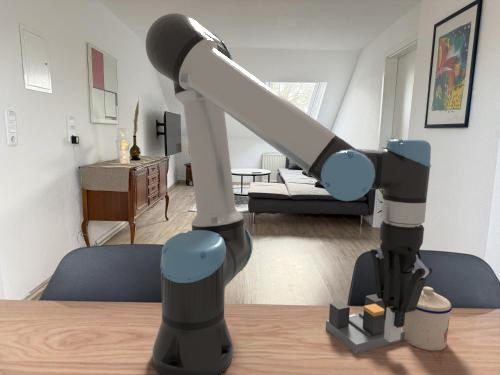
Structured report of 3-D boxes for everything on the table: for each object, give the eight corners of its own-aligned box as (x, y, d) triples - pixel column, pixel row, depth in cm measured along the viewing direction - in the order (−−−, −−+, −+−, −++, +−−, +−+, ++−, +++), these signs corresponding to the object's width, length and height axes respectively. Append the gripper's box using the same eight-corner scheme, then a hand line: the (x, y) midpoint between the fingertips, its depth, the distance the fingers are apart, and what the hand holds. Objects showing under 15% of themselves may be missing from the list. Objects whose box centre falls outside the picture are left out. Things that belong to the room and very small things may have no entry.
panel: (355, 353, 69) (357, 323, 68) (325, 328, 78) (327, 301, 77) (404, 340, 74) (406, 311, 73) (370, 318, 83) (372, 292, 82)
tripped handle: (372, 336, 71) (374, 312, 70) (362, 328, 74) (363, 306, 73) (383, 333, 72) (385, 310, 72) (373, 326, 75) (375, 303, 74)
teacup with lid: (455, 354, 69) (461, 299, 68) (407, 349, 70) (413, 295, 69) (432, 323, 81) (437, 276, 79) (391, 320, 82) (395, 273, 81)
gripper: (447, 229, 61) (434, 353, 64) (390, 213, 72) (382, 319, 76) (416, 232, 58) (404, 362, 61) (362, 216, 69) (354, 326, 73)
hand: (392, 338), depth 68 cm, fingers closed
